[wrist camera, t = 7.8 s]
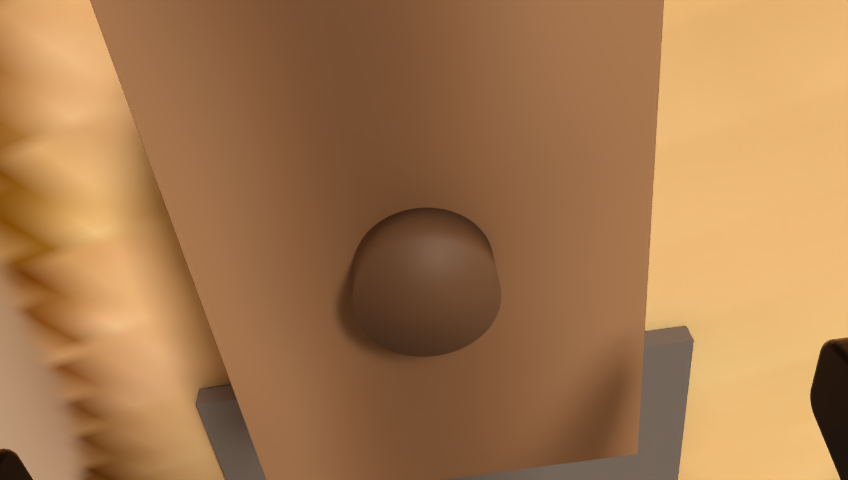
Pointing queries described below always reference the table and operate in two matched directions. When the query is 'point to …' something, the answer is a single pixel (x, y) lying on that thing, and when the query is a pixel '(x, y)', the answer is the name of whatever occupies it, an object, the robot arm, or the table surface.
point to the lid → (409, 219)
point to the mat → (617, 476)
